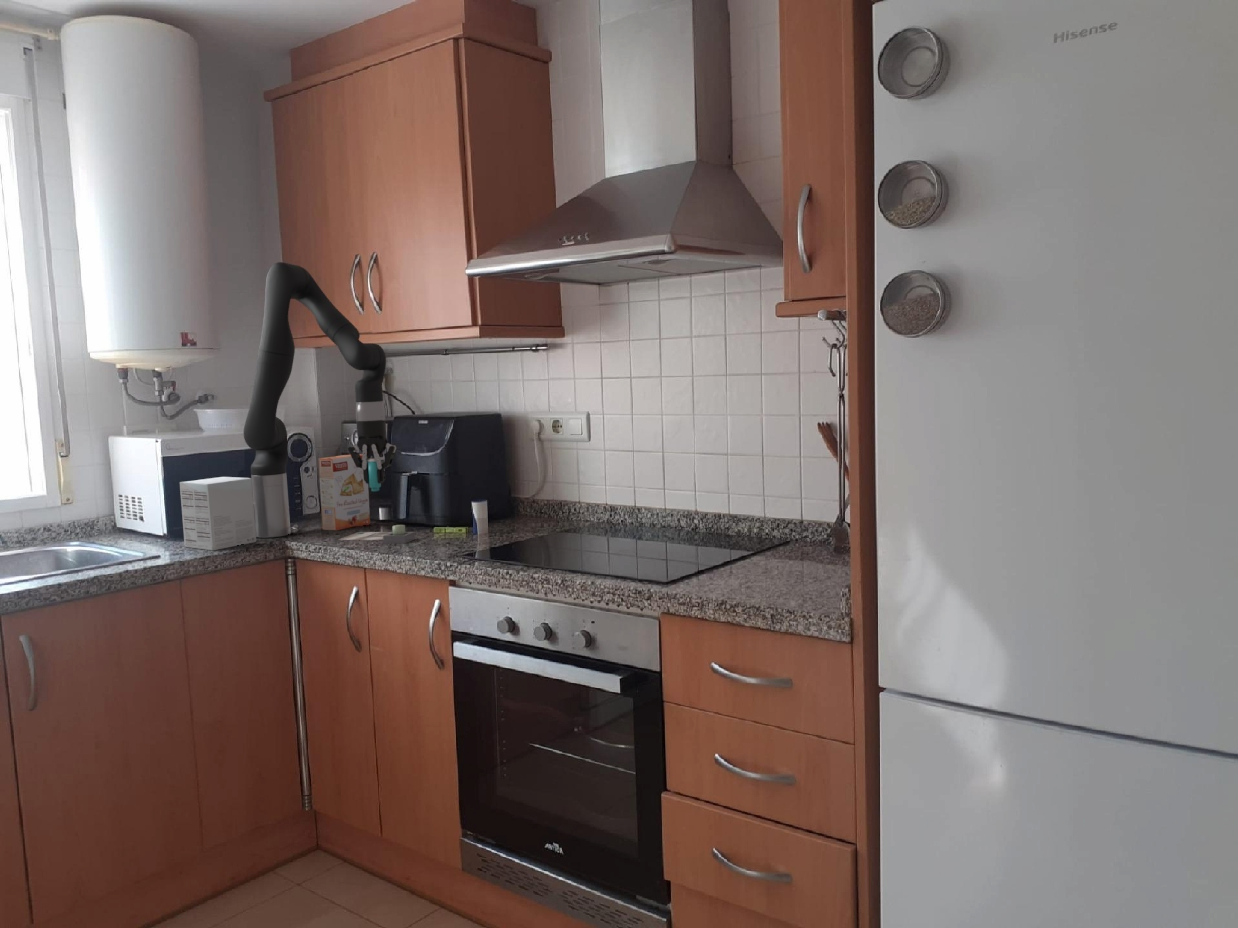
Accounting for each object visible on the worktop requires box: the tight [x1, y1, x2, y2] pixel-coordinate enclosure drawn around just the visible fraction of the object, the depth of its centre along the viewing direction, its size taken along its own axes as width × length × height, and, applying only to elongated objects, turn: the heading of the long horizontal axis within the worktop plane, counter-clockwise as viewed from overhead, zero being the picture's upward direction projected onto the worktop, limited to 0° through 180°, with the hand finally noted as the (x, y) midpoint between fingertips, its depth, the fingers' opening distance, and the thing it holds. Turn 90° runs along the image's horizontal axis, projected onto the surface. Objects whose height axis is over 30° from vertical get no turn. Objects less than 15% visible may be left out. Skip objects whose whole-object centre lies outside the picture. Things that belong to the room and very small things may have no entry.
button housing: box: [382, 531, 416, 544], centre depth 253 cm, size 6×6×2 cm
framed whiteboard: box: [337, 531, 392, 541], centre depth 263 cm, size 16×13×1 cm
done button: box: [391, 524, 406, 535], centre depth 253 cm, size 3×3×3 cm
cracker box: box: [318, 453, 371, 531], centre depth 281 cm, size 14×6×21 cm, turn 152°
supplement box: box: [179, 476, 257, 551], centre depth 261 cm, size 13×13×18 cm
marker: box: [367, 457, 382, 492], centre depth 263 cm, size 3×3×9 cm
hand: (375, 482), depth 263 cm, fingers closed on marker, 3 cm apart
